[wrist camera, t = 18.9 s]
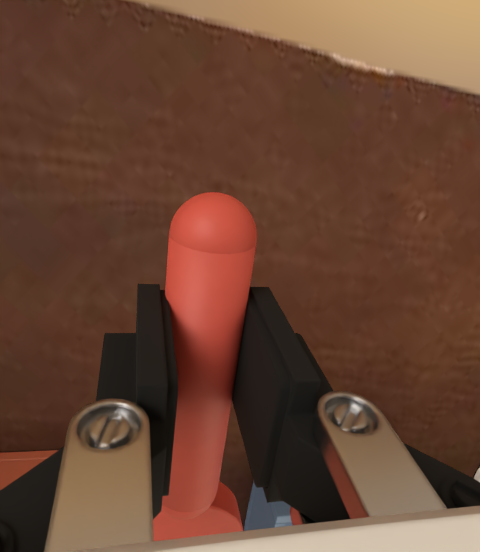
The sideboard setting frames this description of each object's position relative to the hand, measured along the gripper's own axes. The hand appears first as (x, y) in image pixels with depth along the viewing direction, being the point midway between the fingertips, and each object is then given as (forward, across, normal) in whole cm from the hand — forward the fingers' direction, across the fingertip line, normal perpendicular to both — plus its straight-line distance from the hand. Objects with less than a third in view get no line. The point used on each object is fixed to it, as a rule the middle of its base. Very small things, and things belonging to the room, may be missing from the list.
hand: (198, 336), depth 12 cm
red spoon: (+1, 0, +3) cm, 3 cm away
